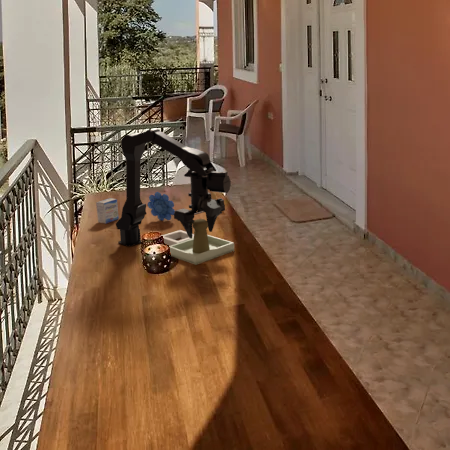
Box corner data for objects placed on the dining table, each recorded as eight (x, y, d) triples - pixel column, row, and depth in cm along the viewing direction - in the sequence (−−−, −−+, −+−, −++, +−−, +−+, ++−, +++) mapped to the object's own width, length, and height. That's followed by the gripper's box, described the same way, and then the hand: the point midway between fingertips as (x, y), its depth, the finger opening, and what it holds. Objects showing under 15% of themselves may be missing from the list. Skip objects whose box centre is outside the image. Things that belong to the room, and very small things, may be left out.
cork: (201, 254, 193) (200, 223, 190) (188, 251, 197) (187, 220, 194) (213, 250, 197) (212, 219, 194) (200, 246, 201) (199, 216, 198)
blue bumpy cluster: (144, 222, 233) (142, 194, 229) (150, 218, 239) (148, 190, 235) (172, 224, 230) (170, 195, 226) (177, 219, 236) (176, 191, 233)
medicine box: (105, 224, 232) (103, 203, 230) (97, 222, 234) (95, 201, 232) (119, 219, 238) (117, 198, 236) (111, 217, 241) (109, 197, 238)
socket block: (177, 249, 201) (177, 242, 200) (158, 243, 208) (158, 236, 207) (199, 242, 208) (199, 235, 207) (180, 236, 215) (180, 229, 214)
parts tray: (195, 264, 186) (195, 256, 186) (168, 254, 196) (167, 246, 195) (234, 250, 199) (234, 242, 198) (206, 242, 208) (206, 234, 207)
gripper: (195, 199, 179) (196, 247, 184) (236, 188, 192) (236, 233, 196) (171, 193, 187) (173, 239, 191) (213, 183, 199) (214, 226, 204)
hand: (200, 234), depth 195 cm, fingers open, 9 cm apart
